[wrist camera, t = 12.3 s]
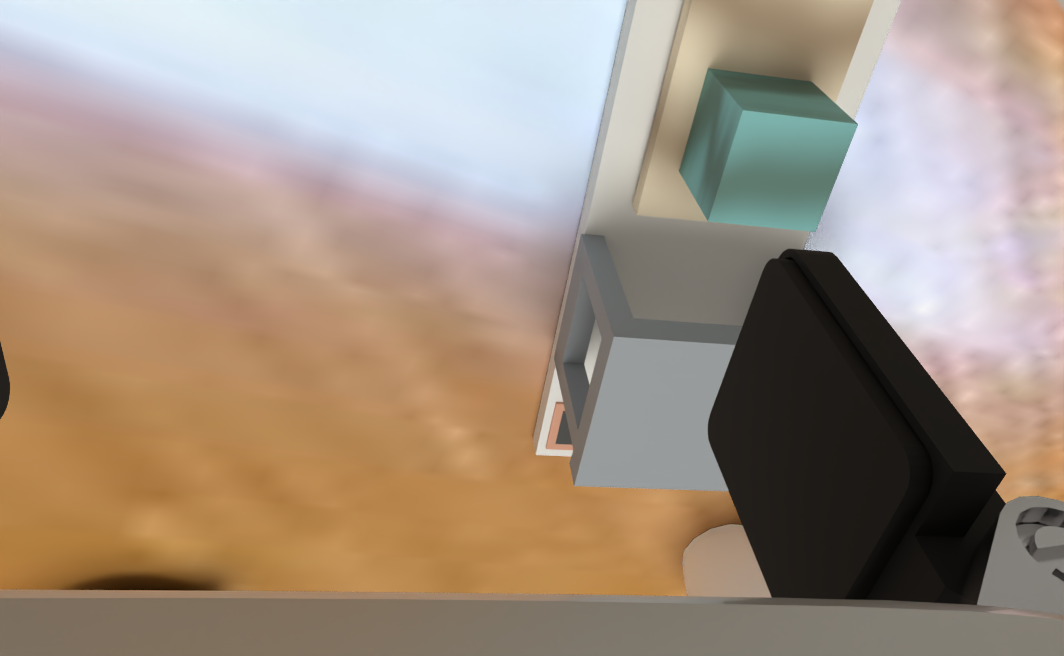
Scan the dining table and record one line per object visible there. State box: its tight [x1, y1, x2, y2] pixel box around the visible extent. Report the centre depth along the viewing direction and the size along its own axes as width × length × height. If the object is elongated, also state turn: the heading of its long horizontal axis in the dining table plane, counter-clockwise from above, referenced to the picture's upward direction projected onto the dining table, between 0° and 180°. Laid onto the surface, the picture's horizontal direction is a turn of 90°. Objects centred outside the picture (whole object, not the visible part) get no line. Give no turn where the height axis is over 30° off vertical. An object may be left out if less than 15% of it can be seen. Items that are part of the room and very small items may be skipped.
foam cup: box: [682, 524, 772, 598], centre depth 57 cm, size 10×9×13 cm
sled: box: [632, 0, 874, 232], centre depth 34 cm, size 21×8×8 cm, turn 171°
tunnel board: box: [533, 0, 901, 491], centre depth 39 cm, size 38×13×11 cm, turn 171°
